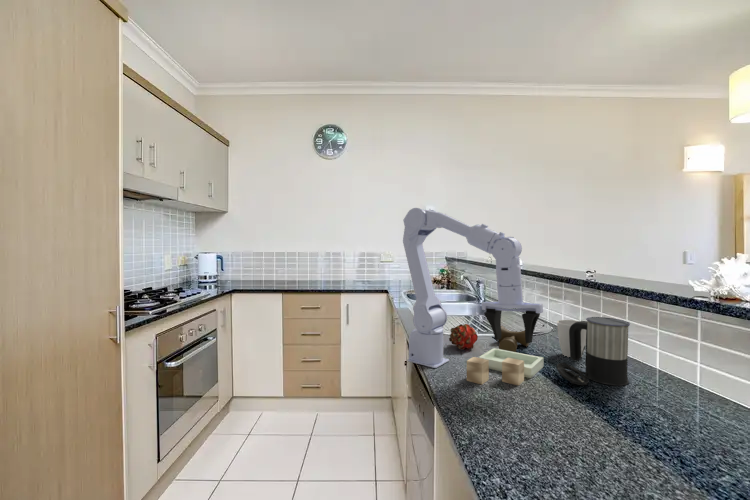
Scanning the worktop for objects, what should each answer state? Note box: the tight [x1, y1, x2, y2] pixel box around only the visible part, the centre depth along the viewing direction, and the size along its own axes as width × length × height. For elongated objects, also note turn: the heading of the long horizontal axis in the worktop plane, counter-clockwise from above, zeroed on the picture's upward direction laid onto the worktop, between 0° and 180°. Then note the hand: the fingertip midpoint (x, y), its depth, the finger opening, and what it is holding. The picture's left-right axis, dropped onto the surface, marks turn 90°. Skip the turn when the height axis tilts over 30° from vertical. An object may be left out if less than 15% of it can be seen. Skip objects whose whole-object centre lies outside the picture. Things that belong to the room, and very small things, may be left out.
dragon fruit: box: [448, 323, 479, 351], centre depth 115 cm, size 8×8×12 cm
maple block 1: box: [466, 356, 490, 386], centre depth 88 cm, size 4×4×5 cm
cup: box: [556, 319, 586, 358], centre depth 107 cm, size 8×8×10 cm
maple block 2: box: [501, 358, 525, 387], centre depth 88 cm, size 4×4×5 cm
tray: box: [477, 347, 545, 379], centre depth 98 cm, size 14×11×2 cm
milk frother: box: [556, 316, 631, 387], centre depth 88 cm, size 14×16×15 cm
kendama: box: [497, 325, 530, 352], centre depth 116 cm, size 6×10×20 cm
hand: (513, 340), depth 87 cm, fingers open, 7 cm apart
